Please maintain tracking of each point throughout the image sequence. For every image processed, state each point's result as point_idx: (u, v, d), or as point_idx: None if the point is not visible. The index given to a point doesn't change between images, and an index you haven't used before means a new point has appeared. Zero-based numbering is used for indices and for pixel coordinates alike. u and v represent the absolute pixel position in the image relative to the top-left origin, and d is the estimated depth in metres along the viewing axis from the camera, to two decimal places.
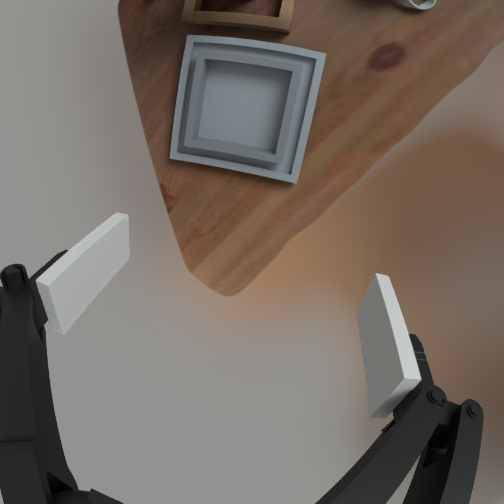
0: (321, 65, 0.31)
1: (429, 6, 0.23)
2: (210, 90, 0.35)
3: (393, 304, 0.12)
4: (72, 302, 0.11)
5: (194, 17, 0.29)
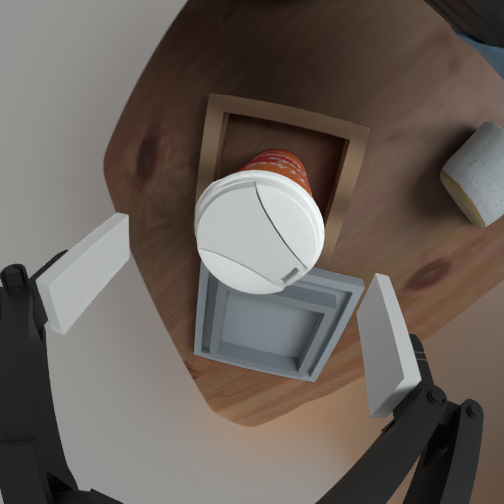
0: (356, 299, 0.32)
1: None
2: (233, 306, 0.37)
3: (393, 304, 0.12)
4: (72, 302, 0.11)
5: None
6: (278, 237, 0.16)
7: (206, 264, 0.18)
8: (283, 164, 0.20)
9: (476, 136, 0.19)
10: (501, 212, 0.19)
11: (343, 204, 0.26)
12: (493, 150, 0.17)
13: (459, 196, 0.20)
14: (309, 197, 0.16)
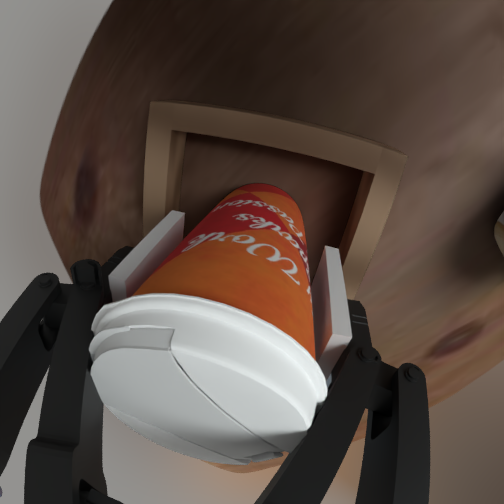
0: None
1: None
2: None
3: (336, 271, 0.13)
4: None
5: None
6: (233, 422, 0.07)
7: (123, 422, 0.09)
8: (258, 235, 0.11)
9: None
10: None
11: (357, 270, 0.17)
12: None
13: None
14: (300, 353, 0.07)
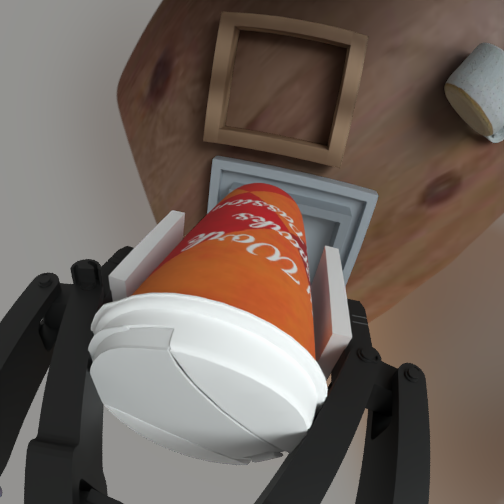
0: (371, 209, 0.30)
1: None
2: None
3: (336, 271, 0.13)
4: None
5: (221, 139, 0.29)
6: (232, 422, 0.07)
7: (123, 422, 0.09)
8: (258, 234, 0.11)
9: (472, 54, 0.18)
10: None
11: (350, 103, 0.25)
12: (488, 60, 0.16)
13: (464, 99, 0.19)
14: (300, 352, 0.07)
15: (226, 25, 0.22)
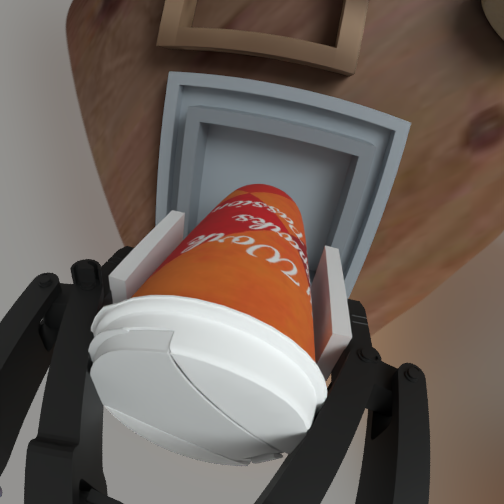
0: (401, 143, 0.19)
1: None
2: (211, 171, 0.23)
3: (336, 271, 0.13)
4: None
5: (180, 39, 0.17)
6: (232, 424, 0.07)
7: (123, 423, 0.09)
8: (258, 236, 0.11)
9: None
10: None
11: None
12: None
13: None
14: (300, 354, 0.07)
15: None
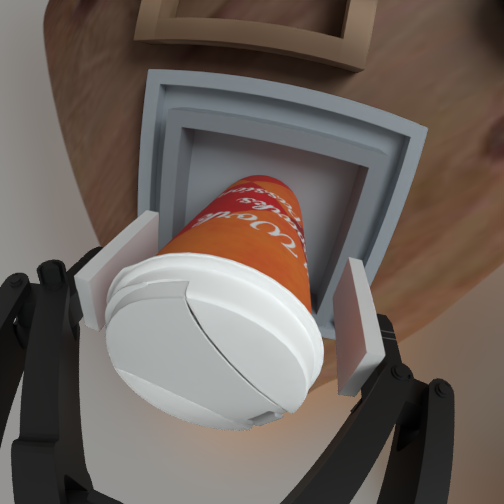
0: (417, 152, 0.16)
1: None
2: (198, 183, 0.20)
3: (363, 285, 0.13)
4: None
5: (160, 32, 0.14)
6: (237, 376, 0.08)
7: (132, 387, 0.10)
8: (260, 214, 0.12)
9: None
10: None
11: None
12: None
13: None
14: (298, 306, 0.08)
15: None
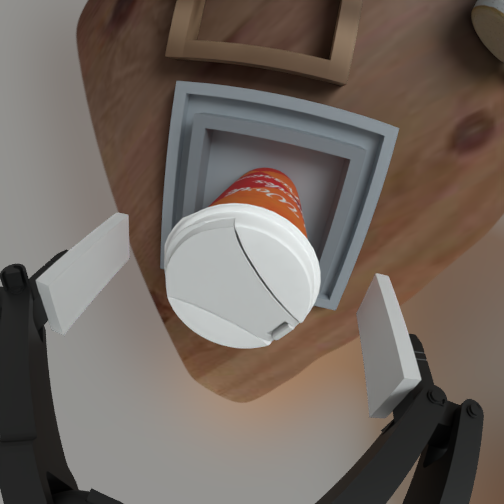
0: (390, 147, 0.21)
1: None
2: (215, 174, 0.25)
3: (393, 304, 0.12)
4: (72, 302, 0.11)
5: (187, 51, 0.19)
6: (263, 287, 0.13)
7: (178, 314, 0.14)
8: (271, 190, 0.17)
9: None
10: None
11: (354, 6, 0.15)
12: None
13: (499, 18, 0.10)
14: (302, 237, 0.13)
15: None
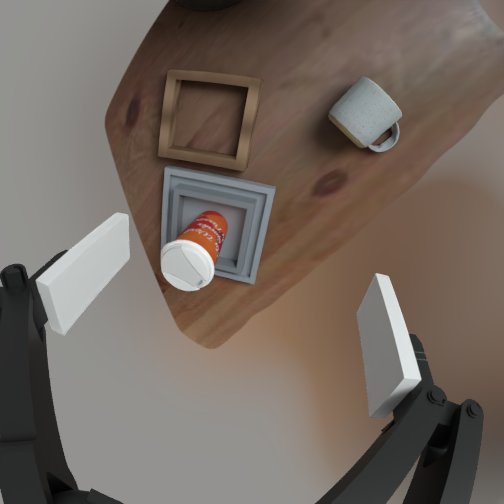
0: (271, 199, 0.46)
1: (390, 146, 0.39)
2: (187, 213, 0.50)
3: (393, 304, 0.12)
4: (72, 302, 0.11)
5: (168, 154, 0.44)
6: (192, 267, 0.38)
7: (165, 277, 0.40)
8: (202, 229, 0.42)
9: None
10: (372, 132, 0.34)
11: (248, 127, 0.40)
12: (357, 92, 0.32)
13: (335, 124, 0.35)
14: (204, 250, 0.38)
15: (170, 79, 0.38)
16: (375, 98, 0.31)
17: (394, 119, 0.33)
